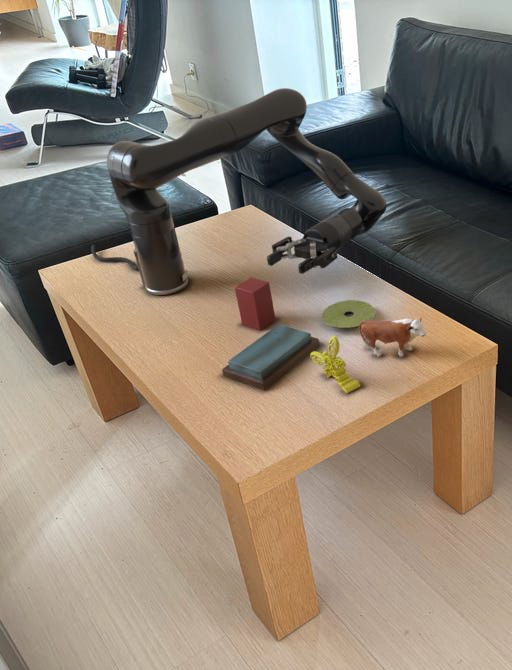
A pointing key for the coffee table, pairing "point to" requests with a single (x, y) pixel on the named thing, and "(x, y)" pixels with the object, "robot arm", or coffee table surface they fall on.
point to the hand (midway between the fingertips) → (283, 265)
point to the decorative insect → (331, 368)
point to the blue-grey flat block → (270, 356)
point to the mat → (348, 313)
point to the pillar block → (255, 303)
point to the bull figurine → (391, 333)
